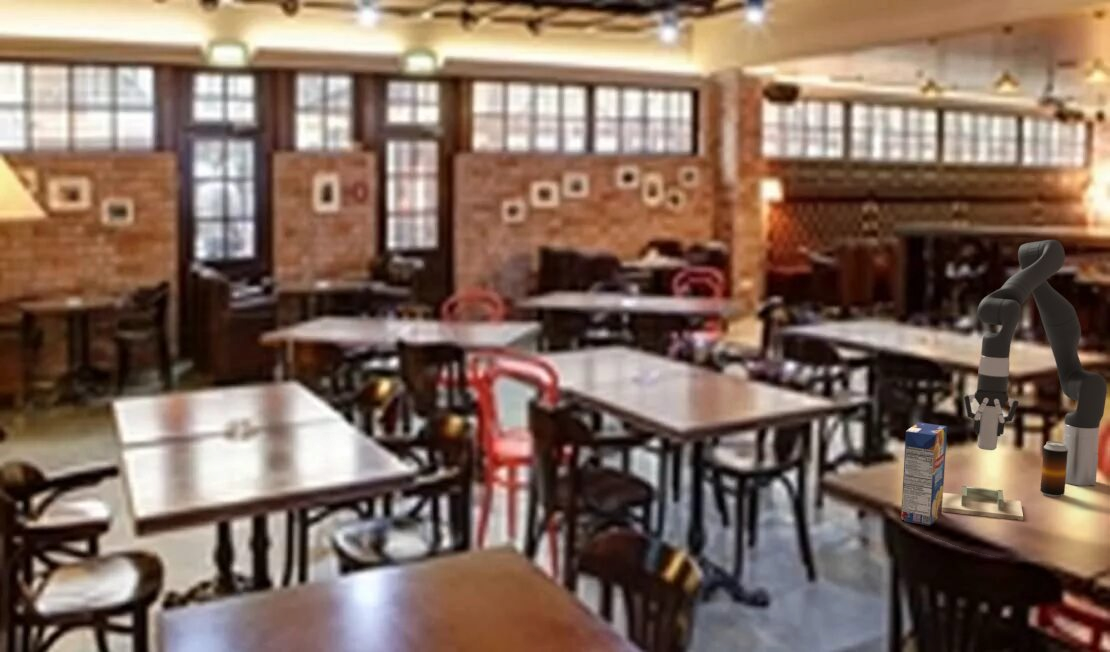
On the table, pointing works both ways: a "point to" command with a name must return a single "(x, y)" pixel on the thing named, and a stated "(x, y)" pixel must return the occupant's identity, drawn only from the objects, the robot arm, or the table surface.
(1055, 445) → the beverage can
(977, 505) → the rest
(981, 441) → the white cylinder
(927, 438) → the juice carton
